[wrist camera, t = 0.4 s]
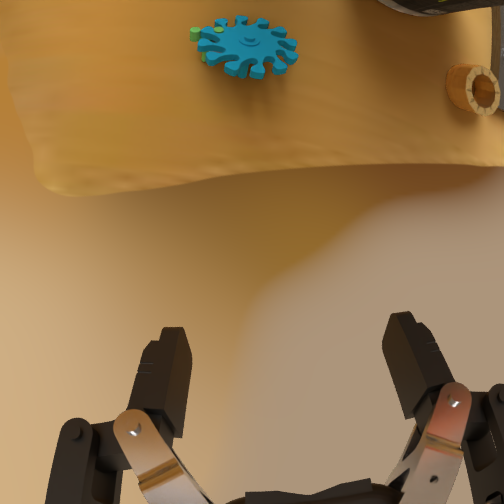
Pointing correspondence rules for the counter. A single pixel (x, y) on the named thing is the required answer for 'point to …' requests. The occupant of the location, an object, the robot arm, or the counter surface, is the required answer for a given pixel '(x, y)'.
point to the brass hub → (484, 89)
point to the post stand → (498, 50)
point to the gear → (245, 47)
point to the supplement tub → (438, 6)
